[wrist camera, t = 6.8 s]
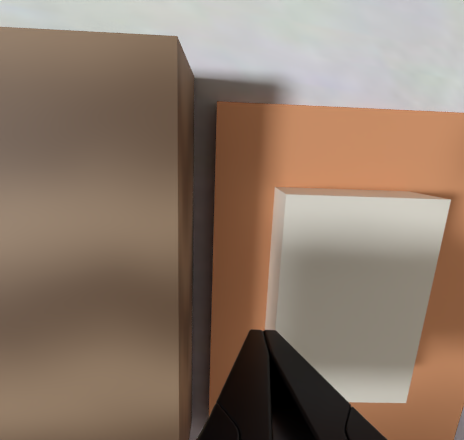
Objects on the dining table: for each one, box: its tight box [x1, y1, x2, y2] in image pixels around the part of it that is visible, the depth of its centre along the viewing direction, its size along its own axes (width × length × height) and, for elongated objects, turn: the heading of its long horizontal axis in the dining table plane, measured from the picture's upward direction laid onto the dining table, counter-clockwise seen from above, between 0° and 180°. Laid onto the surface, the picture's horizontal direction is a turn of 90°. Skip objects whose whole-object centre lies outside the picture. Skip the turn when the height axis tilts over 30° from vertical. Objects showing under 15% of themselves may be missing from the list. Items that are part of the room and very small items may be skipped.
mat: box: [209, 101, 464, 440], centre depth 14 cm, size 18×14×1 cm
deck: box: [0, 27, 194, 440], centre depth 11 cm, size 18×14×4 cm
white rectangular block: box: [265, 187, 451, 403], centre depth 12 cm, size 9×6×2 cm, turn 178°
